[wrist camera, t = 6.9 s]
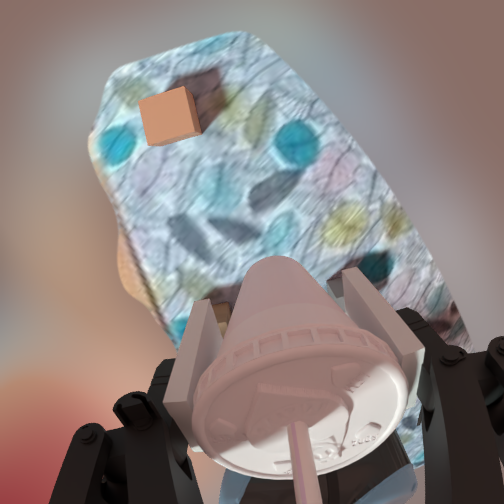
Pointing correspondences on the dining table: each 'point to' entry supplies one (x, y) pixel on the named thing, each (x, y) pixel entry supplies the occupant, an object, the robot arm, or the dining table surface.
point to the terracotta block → (169, 117)
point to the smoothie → (295, 383)
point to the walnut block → (222, 316)
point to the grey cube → (337, 291)
